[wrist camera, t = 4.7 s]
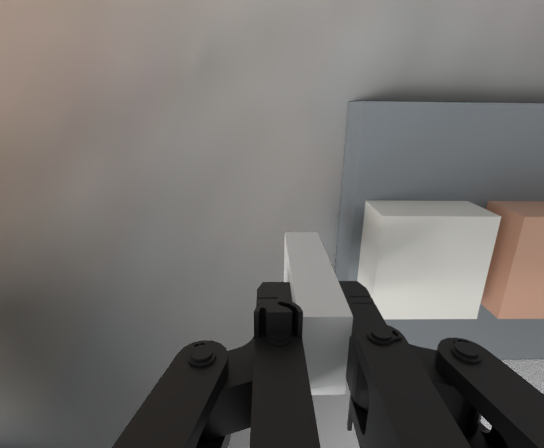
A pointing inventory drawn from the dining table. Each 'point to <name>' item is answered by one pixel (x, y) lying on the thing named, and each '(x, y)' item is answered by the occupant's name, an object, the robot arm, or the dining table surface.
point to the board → (443, 190)
